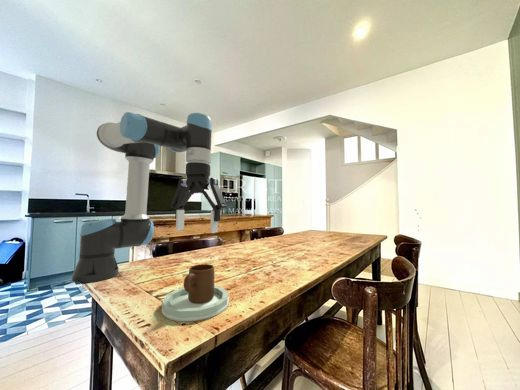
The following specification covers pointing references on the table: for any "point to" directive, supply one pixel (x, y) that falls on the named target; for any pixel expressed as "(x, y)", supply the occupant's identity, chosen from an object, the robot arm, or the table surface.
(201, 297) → the mug
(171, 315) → the shallow round dish
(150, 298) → the table surface
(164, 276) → the table surface
